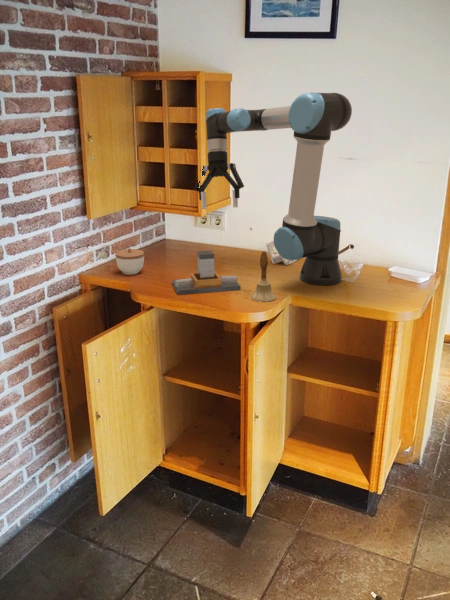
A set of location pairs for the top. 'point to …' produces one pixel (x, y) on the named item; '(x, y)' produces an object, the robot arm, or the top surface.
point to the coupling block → (205, 265)
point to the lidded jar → (130, 260)
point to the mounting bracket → (277, 255)
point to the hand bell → (263, 283)
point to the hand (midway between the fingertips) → (219, 208)
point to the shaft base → (205, 284)
